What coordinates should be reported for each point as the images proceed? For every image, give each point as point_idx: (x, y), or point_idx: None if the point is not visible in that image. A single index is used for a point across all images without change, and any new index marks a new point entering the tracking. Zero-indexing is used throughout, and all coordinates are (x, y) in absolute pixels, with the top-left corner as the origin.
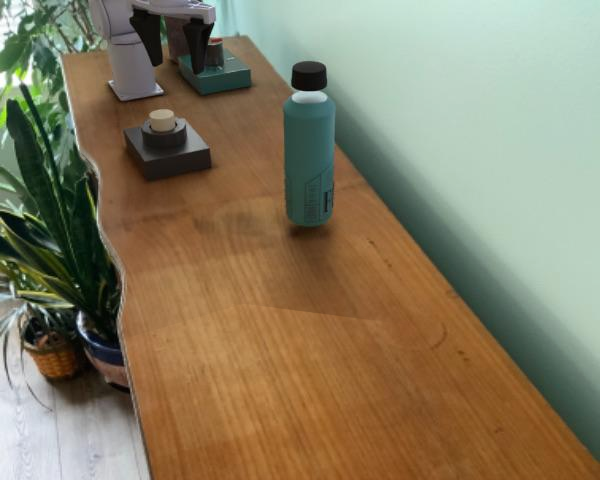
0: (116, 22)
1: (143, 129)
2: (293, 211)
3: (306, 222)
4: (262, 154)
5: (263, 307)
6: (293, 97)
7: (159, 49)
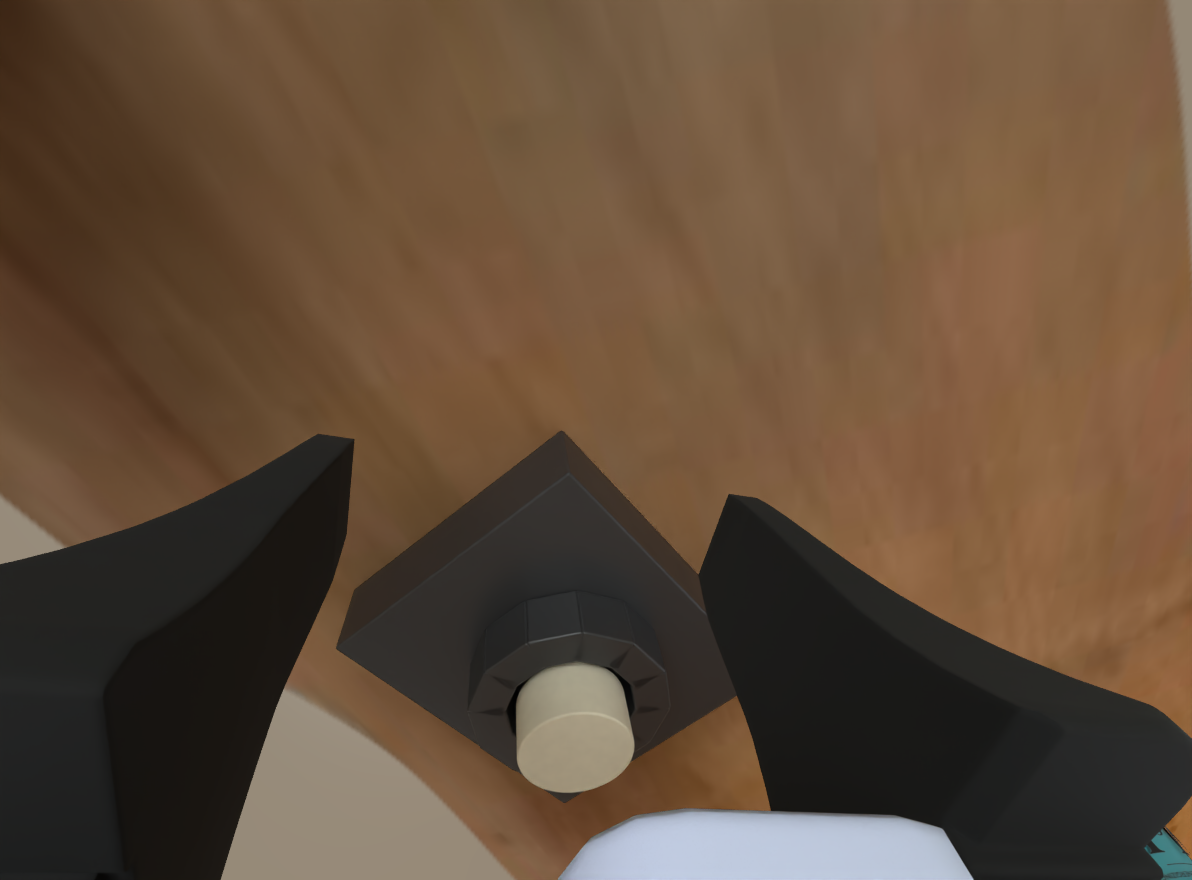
0: None
1: (502, 759)
2: None
3: None
4: (917, 494)
5: None
6: None
7: (318, 517)
